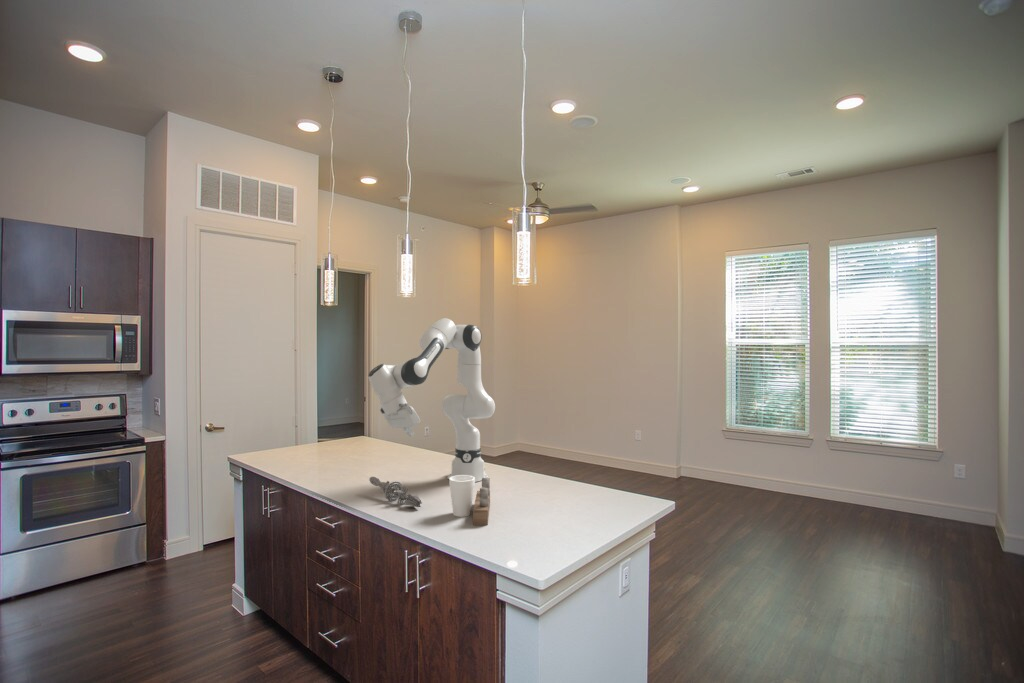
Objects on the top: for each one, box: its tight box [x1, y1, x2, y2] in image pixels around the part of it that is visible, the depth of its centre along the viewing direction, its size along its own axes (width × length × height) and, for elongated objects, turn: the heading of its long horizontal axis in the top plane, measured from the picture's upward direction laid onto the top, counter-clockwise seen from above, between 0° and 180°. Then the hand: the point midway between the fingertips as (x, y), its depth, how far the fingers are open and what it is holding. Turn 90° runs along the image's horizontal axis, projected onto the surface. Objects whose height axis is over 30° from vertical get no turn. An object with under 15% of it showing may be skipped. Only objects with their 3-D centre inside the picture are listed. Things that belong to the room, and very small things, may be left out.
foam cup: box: [448, 475, 476, 518], centre depth 186 cm, size 10×9×13 cm
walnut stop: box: [472, 477, 491, 526], centre depth 187 cm, size 24×5×11 cm, turn 1°
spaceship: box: [368, 476, 423, 508], centre depth 202 cm, size 8×35×8 cm
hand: (411, 435), depth 198 cm, fingers closed
